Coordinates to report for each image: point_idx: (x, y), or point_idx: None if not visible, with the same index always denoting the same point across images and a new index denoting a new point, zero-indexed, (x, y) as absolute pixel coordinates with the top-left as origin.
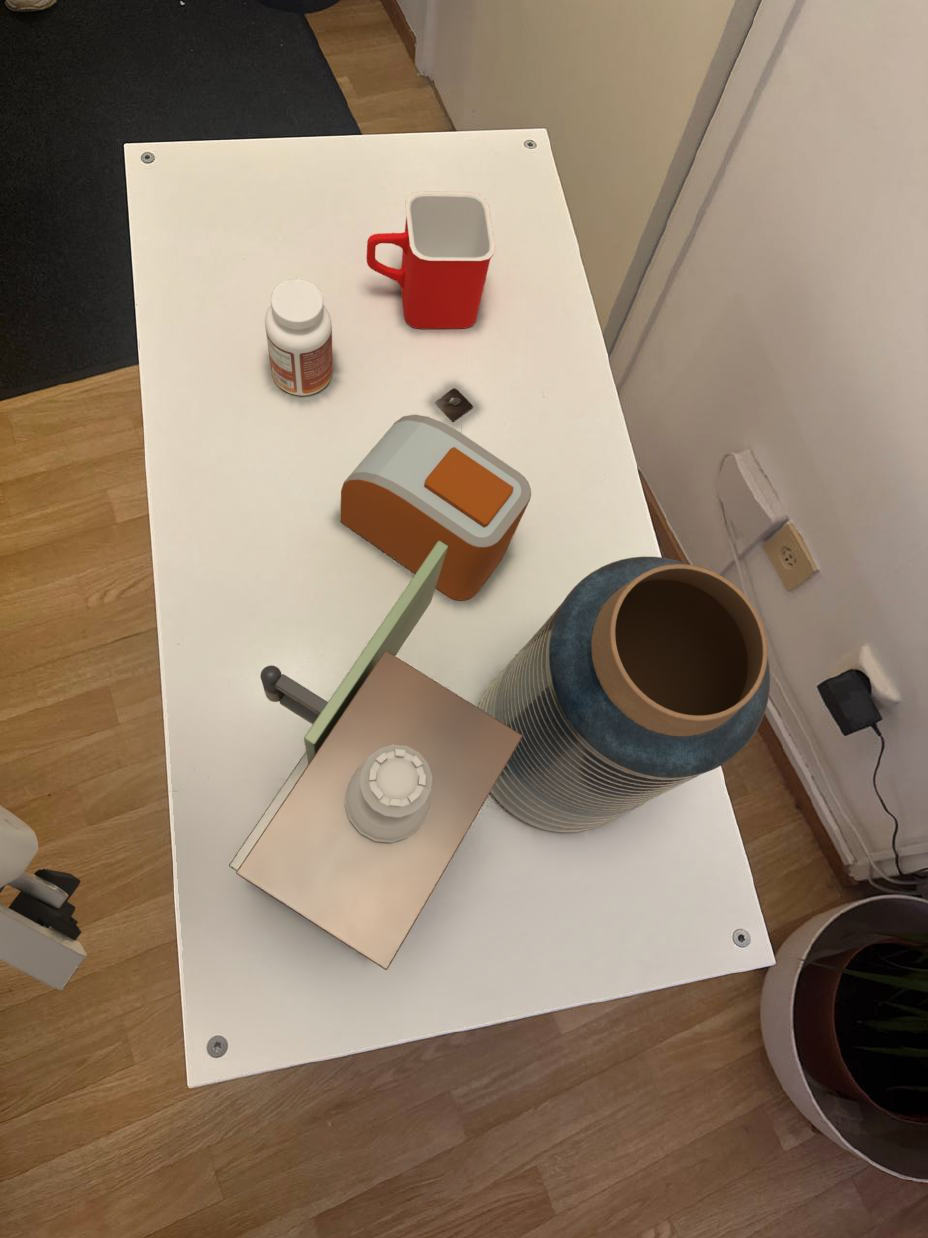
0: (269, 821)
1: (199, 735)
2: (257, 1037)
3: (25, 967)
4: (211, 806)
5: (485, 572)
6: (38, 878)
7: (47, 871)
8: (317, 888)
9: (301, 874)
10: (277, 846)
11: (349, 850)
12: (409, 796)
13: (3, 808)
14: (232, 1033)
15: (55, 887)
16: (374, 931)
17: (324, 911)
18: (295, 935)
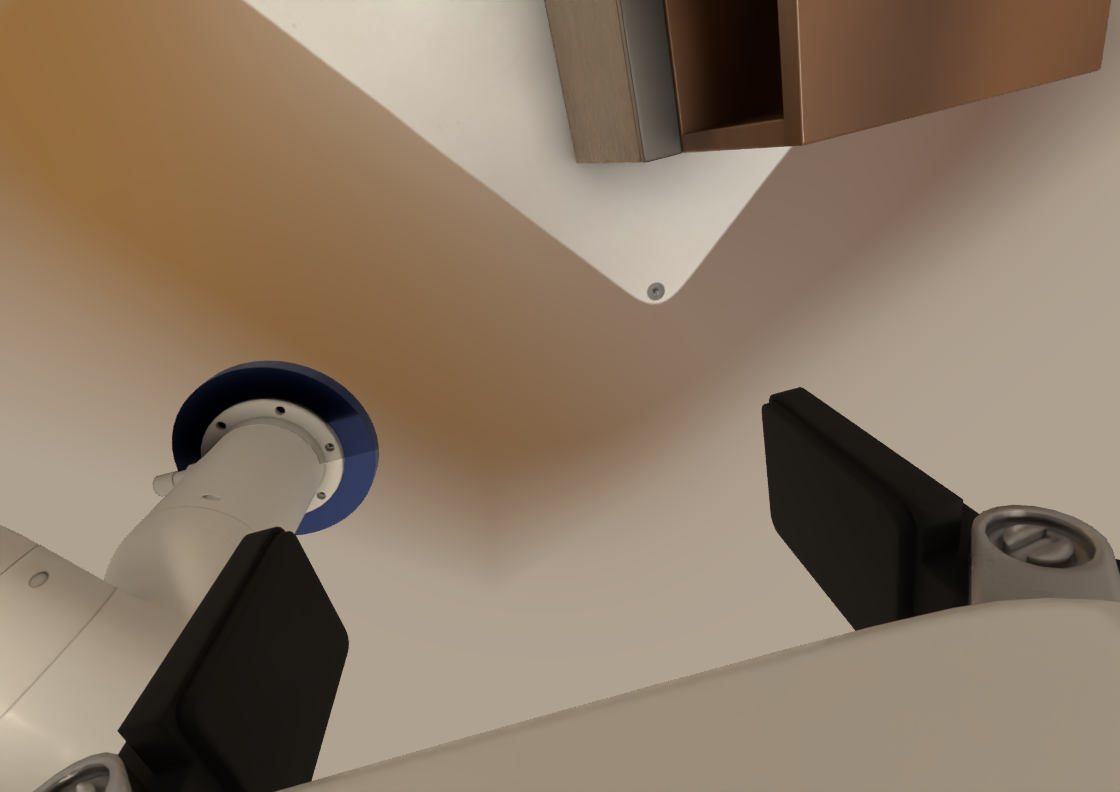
0: (644, 73)
1: (410, 94)
2: (677, 262)
3: None
4: (485, 143)
5: None
6: (1016, 570)
7: (935, 504)
8: (935, 52)
9: (898, 55)
10: (834, 50)
11: None
12: None
13: (960, 647)
14: (658, 275)
15: (997, 518)
16: (1058, 32)
17: (964, 75)
18: (643, 173)
